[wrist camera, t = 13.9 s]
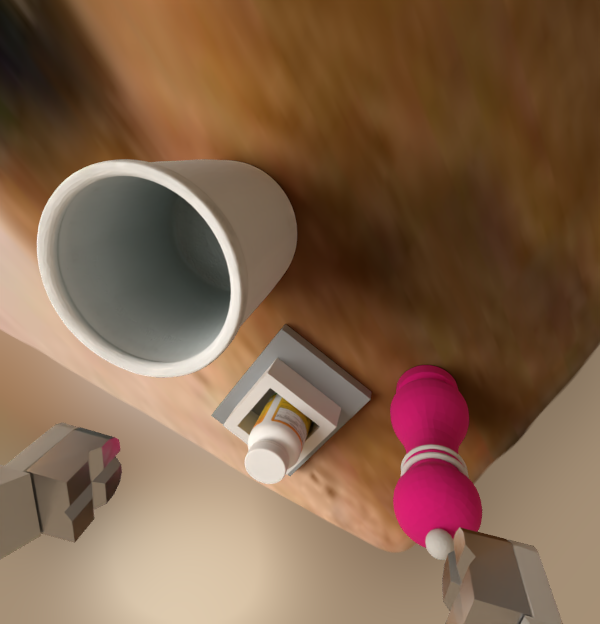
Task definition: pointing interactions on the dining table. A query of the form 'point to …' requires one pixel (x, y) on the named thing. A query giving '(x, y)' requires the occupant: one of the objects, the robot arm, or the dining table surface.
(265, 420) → the supplement bottle
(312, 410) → the docking board
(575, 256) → the dining table surface
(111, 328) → the utensil holder
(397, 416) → the pepper mill
